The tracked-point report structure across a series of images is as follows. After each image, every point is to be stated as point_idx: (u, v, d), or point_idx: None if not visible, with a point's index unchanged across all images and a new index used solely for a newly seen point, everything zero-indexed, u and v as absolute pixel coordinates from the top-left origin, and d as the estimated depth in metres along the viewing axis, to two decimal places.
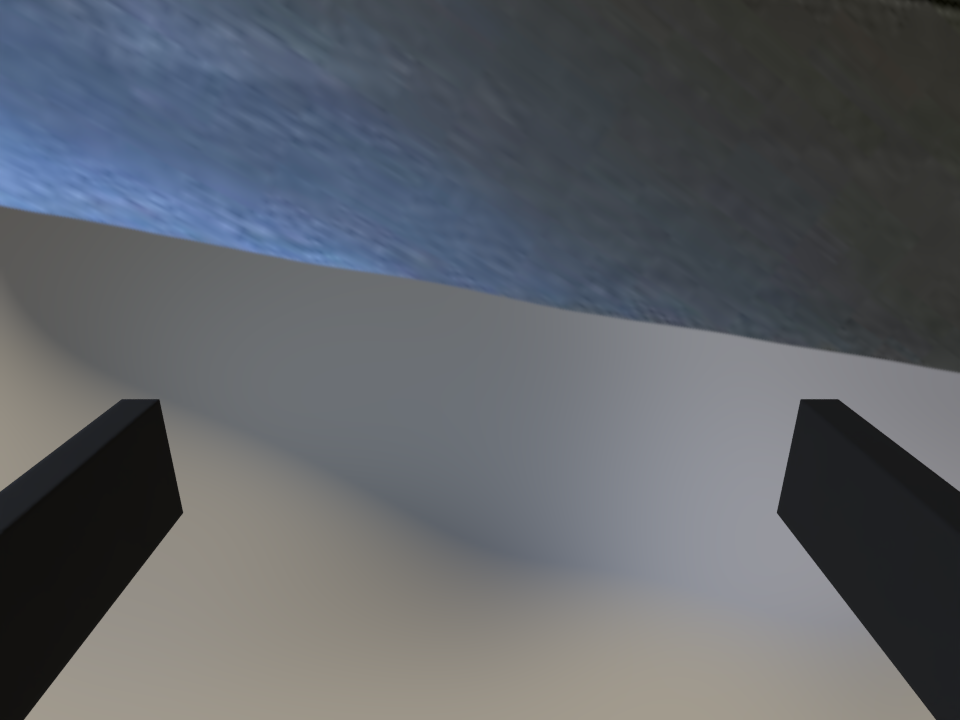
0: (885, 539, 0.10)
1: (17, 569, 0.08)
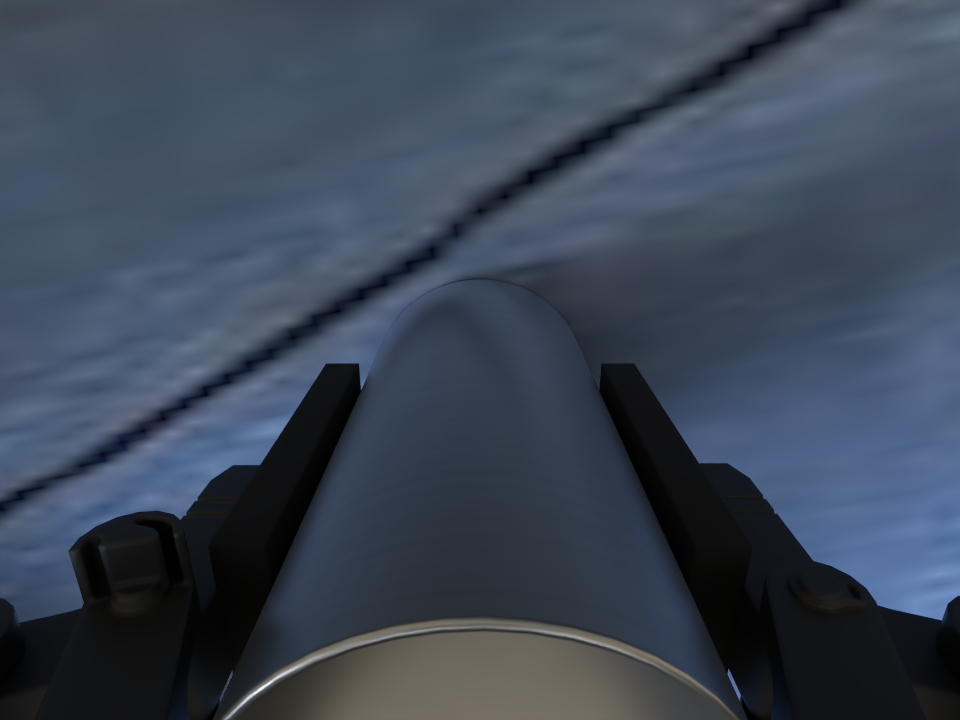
0: None
1: (315, 490, 0.10)
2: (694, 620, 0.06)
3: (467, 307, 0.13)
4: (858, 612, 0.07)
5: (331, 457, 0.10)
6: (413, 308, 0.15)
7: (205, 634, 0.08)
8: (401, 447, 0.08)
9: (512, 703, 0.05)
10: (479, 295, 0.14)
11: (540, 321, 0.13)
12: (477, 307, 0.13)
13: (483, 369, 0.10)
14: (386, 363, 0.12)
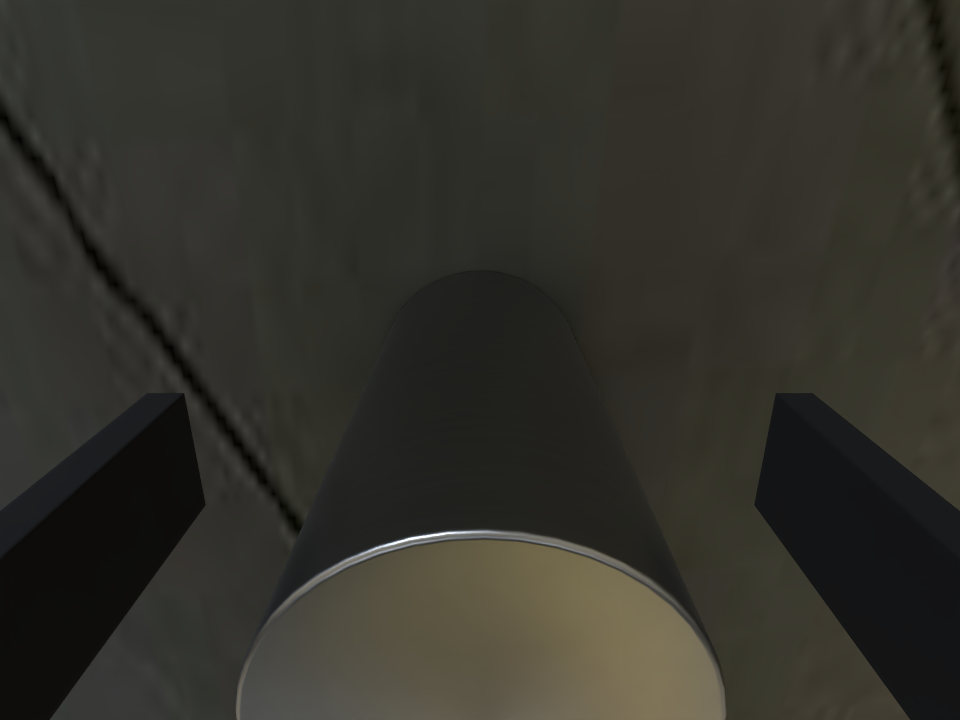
0: (852, 528, 0.10)
1: (57, 555, 0.09)
2: (661, 547, 0.07)
3: (468, 295, 0.14)
4: None
5: (347, 426, 0.11)
6: (418, 297, 0.16)
7: None
8: (411, 410, 0.09)
9: (508, 603, 0.06)
10: (479, 285, 0.15)
11: (536, 308, 0.14)
12: (478, 295, 0.14)
13: (483, 347, 0.11)
14: (395, 345, 0.13)
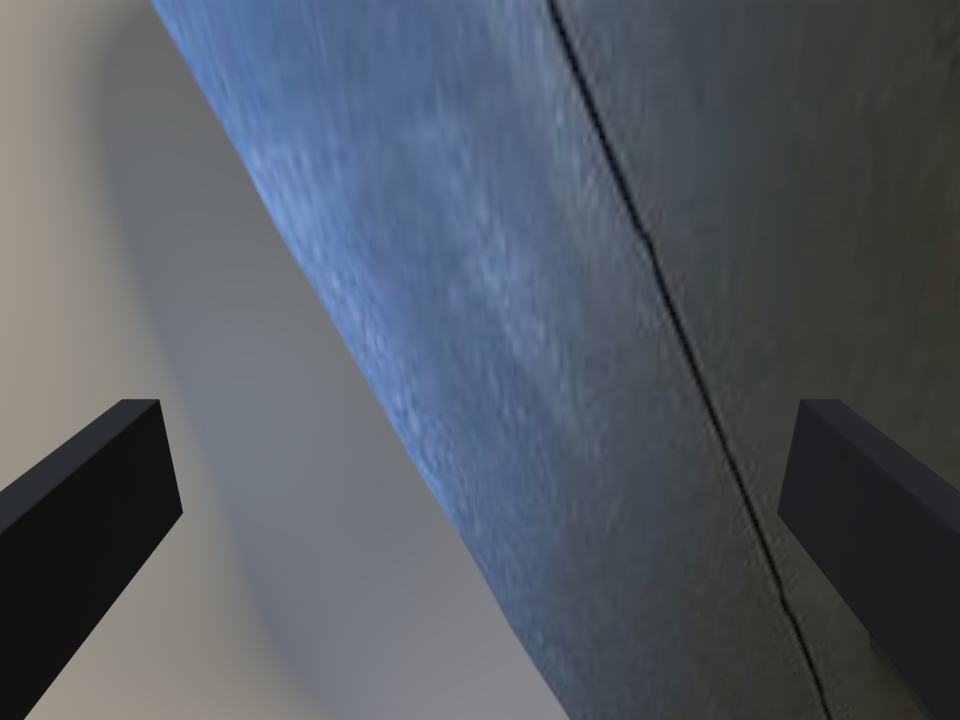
0: (885, 539, 0.10)
1: (17, 569, 0.08)
2: None
3: None
4: None
5: None
6: None
7: None
8: None
9: None
10: None
11: None
12: None
13: None
14: None
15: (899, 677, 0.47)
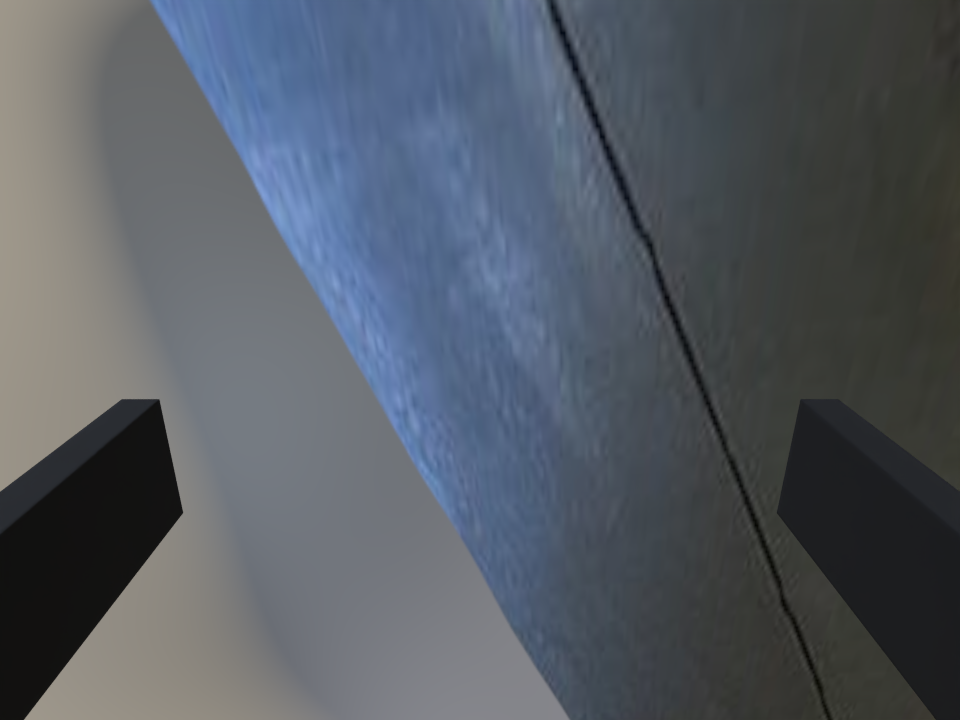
0: (885, 539, 0.10)
1: (17, 569, 0.08)
2: None
3: None
4: None
5: None
6: None
7: None
8: None
9: None
10: None
11: None
12: None
13: None
14: None
15: None
